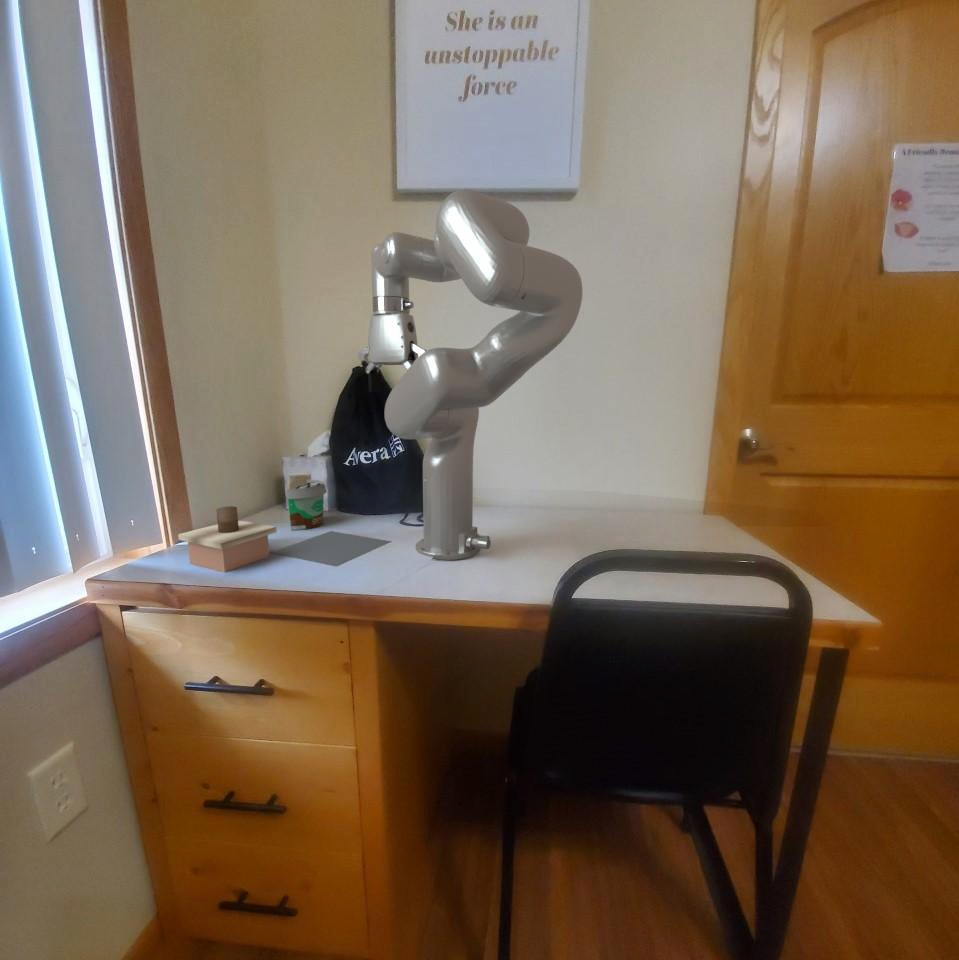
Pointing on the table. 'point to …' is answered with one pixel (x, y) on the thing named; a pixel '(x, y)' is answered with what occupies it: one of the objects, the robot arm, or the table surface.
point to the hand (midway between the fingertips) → (393, 392)
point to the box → (297, 480)
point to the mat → (331, 548)
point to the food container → (306, 505)
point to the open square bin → (229, 554)
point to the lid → (227, 531)
